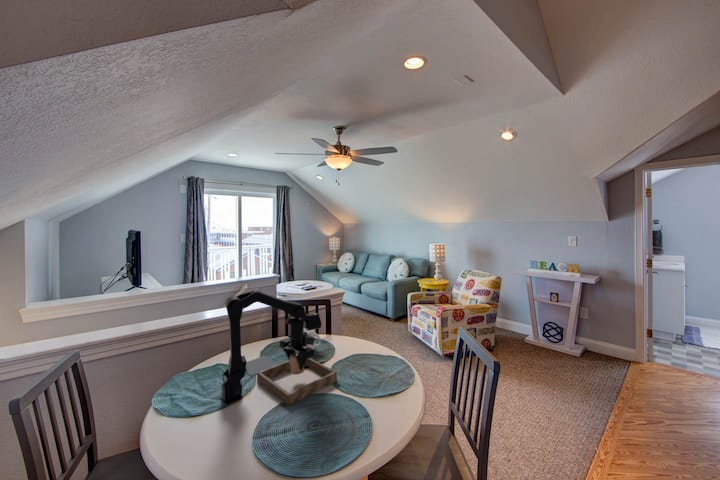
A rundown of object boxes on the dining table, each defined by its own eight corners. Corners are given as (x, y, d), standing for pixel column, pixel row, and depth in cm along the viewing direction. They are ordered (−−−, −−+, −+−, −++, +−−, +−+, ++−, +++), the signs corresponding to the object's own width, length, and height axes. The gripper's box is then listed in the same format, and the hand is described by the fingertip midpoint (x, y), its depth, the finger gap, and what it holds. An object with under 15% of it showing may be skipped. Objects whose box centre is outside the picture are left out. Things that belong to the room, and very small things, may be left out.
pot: (295, 375, 125) (295, 359, 125) (287, 370, 130) (287, 354, 129) (306, 370, 130) (306, 354, 129) (298, 366, 134) (298, 350, 133)
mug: (318, 353, 157) (318, 333, 156) (296, 352, 158) (296, 332, 157) (322, 347, 165) (322, 327, 165) (301, 345, 167) (301, 327, 166)
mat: (251, 376, 134) (251, 375, 134) (237, 365, 143) (237, 365, 143) (279, 365, 144) (279, 364, 144) (264, 356, 153) (264, 355, 153)
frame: (288, 405, 113) (288, 395, 112) (257, 381, 130) (256, 372, 129) (336, 381, 130) (336, 372, 130) (303, 362, 147) (303, 354, 147)
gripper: (325, 332, 128) (325, 368, 129) (299, 322, 141) (300, 354, 142) (303, 340, 120) (303, 378, 121) (278, 328, 133) (279, 362, 134)
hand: (297, 367), depth 130 cm, fingers closed on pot, 6 cm apart
